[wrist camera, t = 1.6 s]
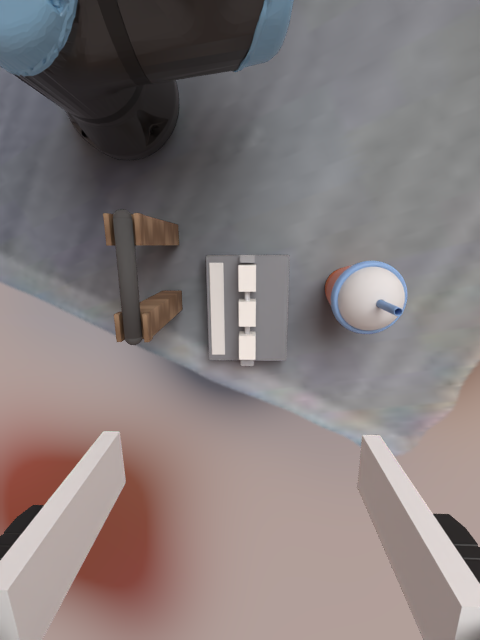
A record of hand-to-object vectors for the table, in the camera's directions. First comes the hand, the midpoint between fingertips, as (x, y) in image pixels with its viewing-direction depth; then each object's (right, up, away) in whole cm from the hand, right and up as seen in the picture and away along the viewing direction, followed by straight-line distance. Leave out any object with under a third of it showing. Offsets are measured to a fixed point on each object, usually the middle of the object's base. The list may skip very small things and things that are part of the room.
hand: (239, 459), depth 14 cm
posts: (-11, +14, +34) cm, 38 cm away
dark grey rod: (-11, +11, +18) cm, 24 cm away
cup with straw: (+16, +11, +34) cm, 39 cm away
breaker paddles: (+1, +8, +32) cm, 33 cm away
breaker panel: (+1, +9, +35) cm, 36 cm away
